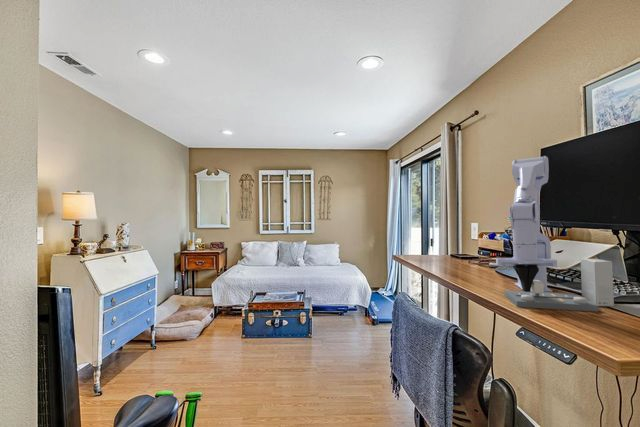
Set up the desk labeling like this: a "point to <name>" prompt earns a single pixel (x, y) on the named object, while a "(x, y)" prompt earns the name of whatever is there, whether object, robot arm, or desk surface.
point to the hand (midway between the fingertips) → (526, 291)
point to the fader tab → (537, 287)
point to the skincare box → (597, 281)
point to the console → (550, 300)
